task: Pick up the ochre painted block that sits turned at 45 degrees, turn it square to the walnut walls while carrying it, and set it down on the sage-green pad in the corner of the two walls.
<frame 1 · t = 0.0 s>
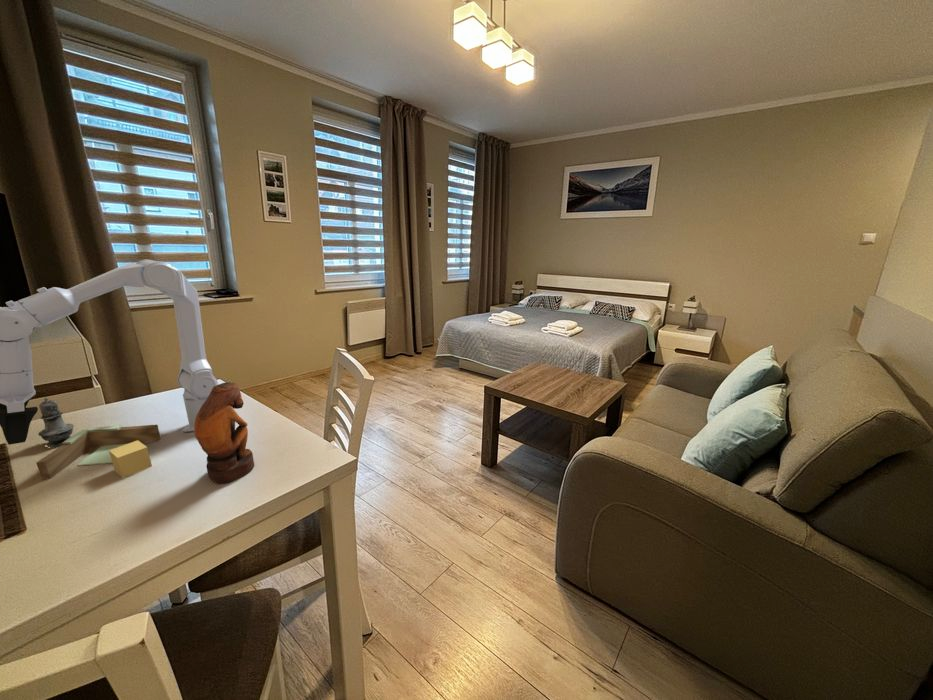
hand: (14, 436, 73), 11 cm above the table, tool pointing down, fingers open, 7 cm apart
sage pad: (111, 454, 86), on the table
ochre block: (133, 468, 82), on the table
walnut walls: (91, 445, 89), on the table
grey stone finial: (60, 443, 90), on the table
figurine: (231, 471, 82), on the table
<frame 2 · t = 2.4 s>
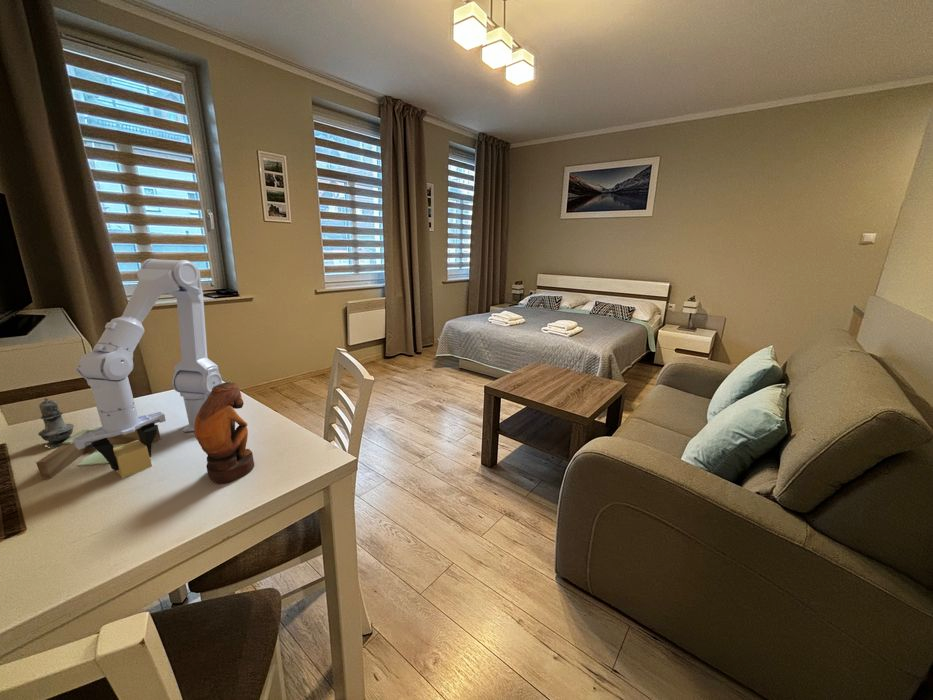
hand: (131, 462, 81), 1 cm above the table, tool pointing down, fingers closed on ochre block, 5 cm apart
ochre block: (133, 468, 81), on the table, touching gripper
everything else where it was.
when the fingers open (3 cm above the table, at t = 5.7 s): ochre block drops 1 cm, resting on sage pad.
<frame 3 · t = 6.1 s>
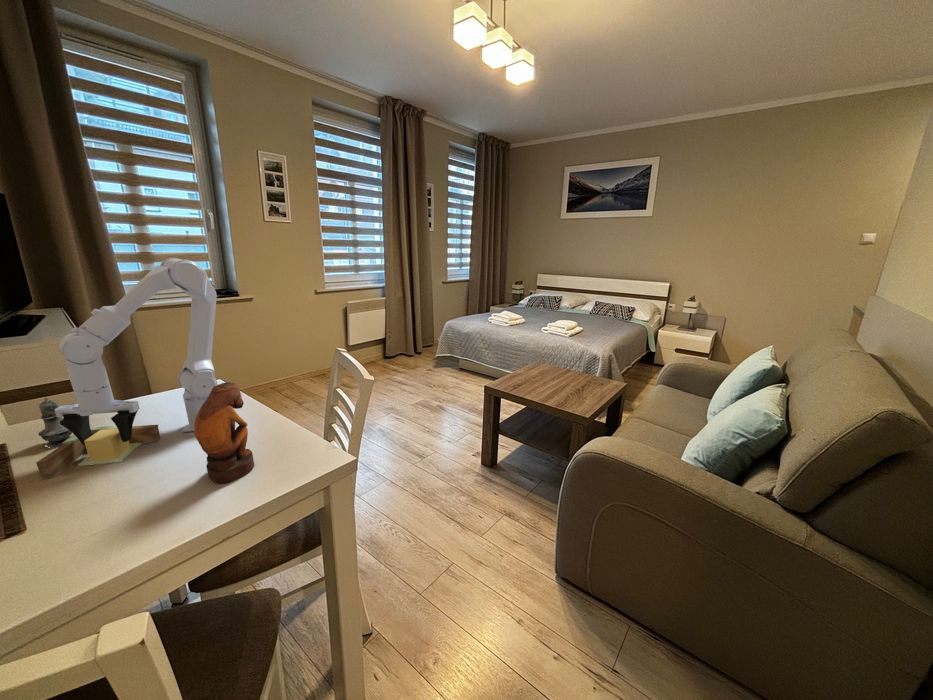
hand: (107, 441, 85), 3 cm above the table, tool pointing down, fingers open, 7 cm apart
ochre block: (110, 453, 86), resting on sage pad
everything else where it was.
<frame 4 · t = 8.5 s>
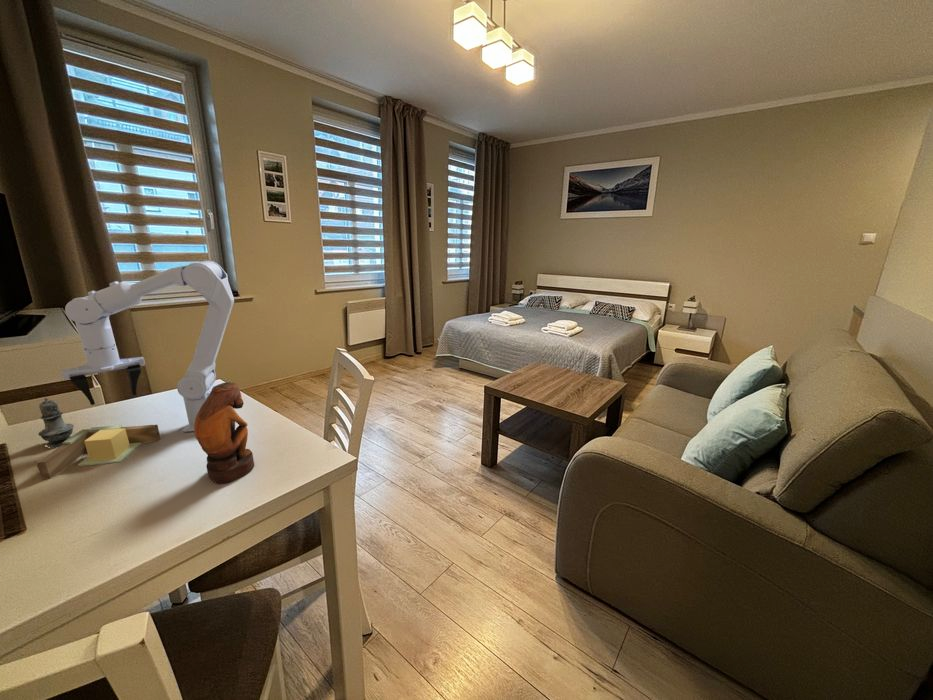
hand: (114, 398, 92), 10 cm above the table, tool pointing down, fingers open, 7 cm apart
nothing on the table moved.
at the end: ochre block 0.2 cm from the target spot, resting on sage pad; ochre block tilted 0°; the gripper is holding nothing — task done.
